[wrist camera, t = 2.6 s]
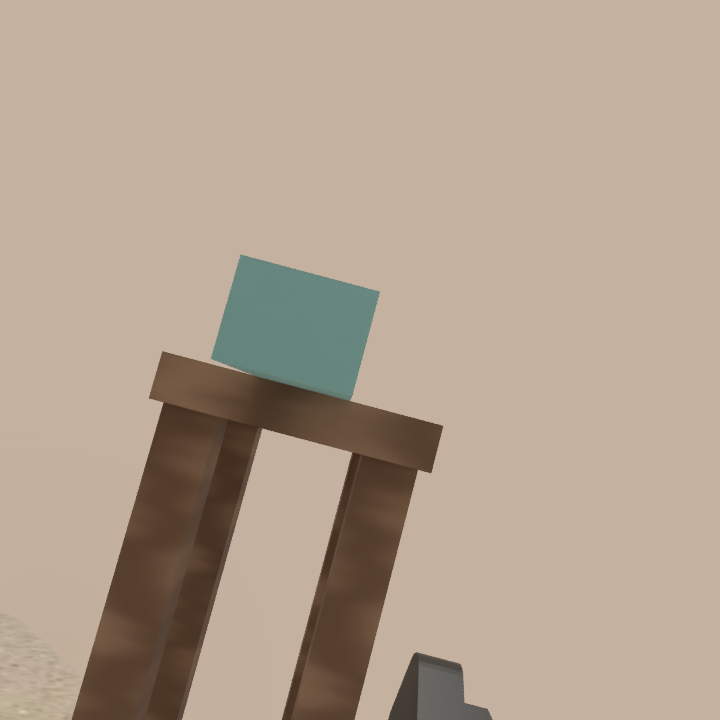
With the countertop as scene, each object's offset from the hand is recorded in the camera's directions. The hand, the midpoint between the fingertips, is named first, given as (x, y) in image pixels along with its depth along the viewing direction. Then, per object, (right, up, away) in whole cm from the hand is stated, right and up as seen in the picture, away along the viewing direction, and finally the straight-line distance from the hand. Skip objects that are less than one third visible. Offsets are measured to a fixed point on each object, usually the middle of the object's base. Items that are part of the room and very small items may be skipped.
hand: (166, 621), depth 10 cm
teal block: (+1, +3, +19) cm, 19 cm away
